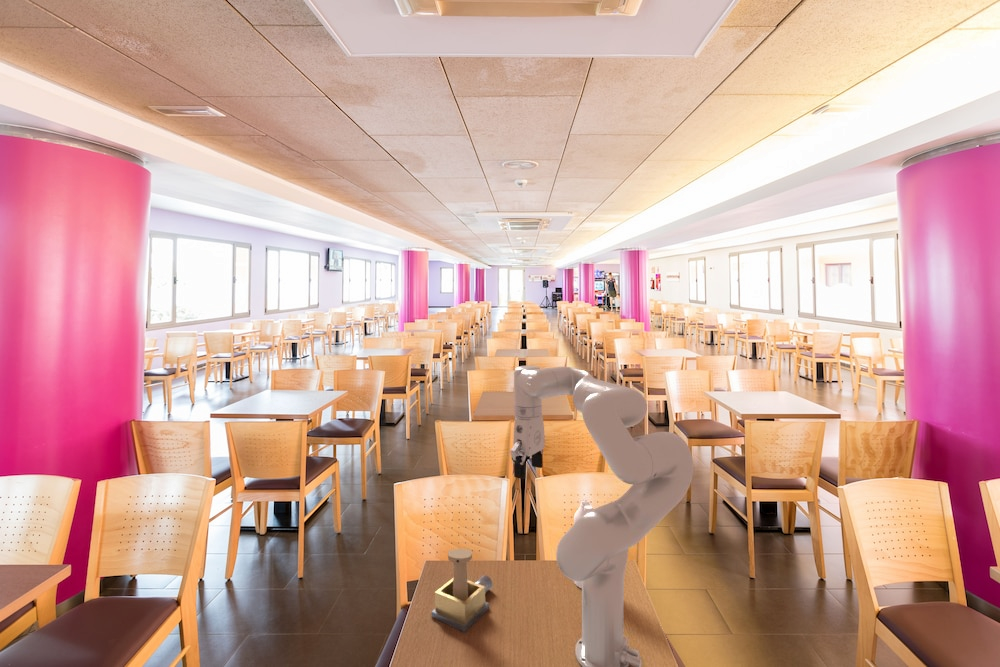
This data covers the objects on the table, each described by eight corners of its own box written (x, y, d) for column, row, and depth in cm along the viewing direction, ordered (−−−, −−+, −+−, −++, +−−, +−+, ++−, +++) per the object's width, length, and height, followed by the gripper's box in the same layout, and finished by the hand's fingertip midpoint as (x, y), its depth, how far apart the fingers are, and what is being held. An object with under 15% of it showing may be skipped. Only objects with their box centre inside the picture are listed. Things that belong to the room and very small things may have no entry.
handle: (470, 614, 124) (469, 559, 123) (446, 612, 125) (445, 557, 124) (474, 602, 129) (473, 549, 128) (451, 600, 130) (450, 547, 129)
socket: (502, 594, 135) (502, 572, 134) (464, 632, 120) (464, 607, 119) (471, 582, 141) (471, 561, 140) (431, 617, 126) (431, 593, 125)
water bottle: (572, 577, 143) (571, 496, 141) (593, 576, 143) (593, 495, 141) (578, 595, 134) (578, 509, 132) (600, 594, 134) (600, 508, 133)
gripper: (524, 419, 120) (525, 485, 121) (554, 406, 134) (554, 465, 136) (499, 416, 124) (500, 479, 125) (531, 403, 138) (531, 460, 140)
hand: (528, 472), depth 130 cm, fingers open, 9 cm apart
